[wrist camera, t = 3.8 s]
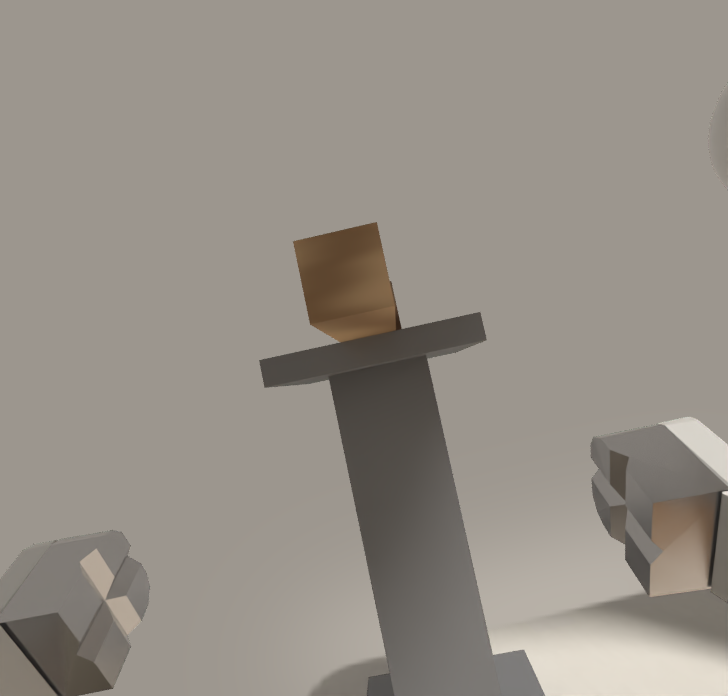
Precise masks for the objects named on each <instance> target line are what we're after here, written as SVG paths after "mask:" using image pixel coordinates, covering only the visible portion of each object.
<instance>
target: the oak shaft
mask: <svg viewBox="0 0 728 696" xmlns="http://www.w3.org/2000/svg"><path fill="white" fill-rule="evenodd" d="M293 243H294V248H295V252H296V257H297V263H298V267H299V272H300V277H301V282H302V287H303V292H304V297H305V301H306V306H307V311H308V316H309V320H310V325H312V326H314V327H316V328H317V329H319V330H320V331H322V332H324V333H326V334H327V335H329V336H331V337H332V338H334V339H336V340H338V341H339V342H345V341H350V340H355V339H359V338H364V337H368V336H373V335H377V334H382V333H387V332H391V331H396V330H400V329H401V324H400V320H399V315H398V311H397V306H396V301H395V297H394V292H393V288H392V283H391V281H389V276H388V272H387V267H386V263H385V258H384V254H383V249H382V244H381V240H380V235H379V231H378V226H377V222H376V223H371V224H366V225H362V226H358V227H353V228H349V229H345V230H340V231H336V232H332V233H327V234H323V235H319V236H315V237H311V238H306V239H302V240H297V241H294V242H293Z"/></svg>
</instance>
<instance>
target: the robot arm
mask: <svg viewBox="0 0 728 696" xmlns="http://www.w3.org/2000/svg"><path fill="white" fill-rule="evenodd" d="M709 153H710V159H711V163H712V165H713V168H714V170H715V172H716V174H717V177H718V178H719V180H720V181H721V183H722V184H723V185H724V187H725V188H726V189H727V190H728V83H727V84H726V86H725V88H724V89H723V91H722V93H721V95H720V97H719V99H718V101H717V104H716V106H715V109H714V111H713V115H712V119H711V122H710V128H709ZM591 458H592V460H593V461H594V462H595V464H596V465H597V467H598V468H599V469H598V471H597V472H596V473H595V475H594V476H593V478H592V491H593V498H594V501H595V505H596V509H597V512H598V514H599V516H600V518H601V520H602V523H603V525H604V526H605V528H606V529H607V531H608V533H609V534H610V536H611V537H612V538H614V539H616V540H618V541H620V542H621V543H623V544H625V560H626V561H627V563H628V564H629V566H630V568H631V569H632V571H633V572H634V574H635V575H636V577H637V578H638V580H639V581H640V583H641V585H642V586H643V588H644V589H645V591H646V592H647V594H648V596H649V597H655V596H662V595H669V594H676V593H683V592H690V591H697V590H705V589H711V592H712V593H713V594H715V595H716V596H718V597H719V598H721V599H722V600H724V601H725V602H727V603H728V445H727V444H726V443H725V442H724V441H723V440H721V439H720V438H719V437H718V436H717V435H715V434H714V433H713V432H712V431H711V430H709V429H708V428H707V427H706V426H704V425H703V424H702V423H701V422H700V421H699V420H697V419H695V418H692V417H685V418H680V419H675V420H671V421H666V422H661V423H657V424H656V425H651V426H646V427H641V428H636V429H631V430H626V431H621V432H616V433H611V434H606V435H601V436H596V437H593V439H592V442H591ZM130 546H131V545H130V544H129V542H128V541H127V539H126V538H125V536H124V535H123V533H122V532H118V531H113V530H111V531H105V532H99V533H94V534H88V535H82V536H76V537H70V538H64V539H60V540H55V541H49V542H43V543H38V544H33V545H32V546H30V547H28V548H26V549H24V550H23V551H22V552H21V553H20V555H19V556H18V557H17V558H16V560H15V561H14V562H13V564H12V565H11V566H10V567H9V569H8V570H7V571H6V572H5V574H4V575H3V576H2V578H1V579H0V696H79V695H84V694H89V693H94V692H99V691H103V690H109V689H113V687H114V685H115V683H116V680H117V678H118V676H119V673H120V671H121V669H122V666H123V664H124V662H125V659H126V657H127V655H128V652H129V650H130V648H131V646H130V642H129V639H128V634H129V633H130V632H131V631H132V630H133V629H134V628H135V627H136V626H137V625H138V624H139V623H140V622H141V621H142V619H143V617H144V614H145V612H146V609H147V606H148V601H149V590H150V586H149V581H148V577H147V573H146V571H145V570H144V568H143V566H142V564H141V563H139V562H137V561H136V560H134V559H132V558H130V557H128V553H129V549H130Z"/></svg>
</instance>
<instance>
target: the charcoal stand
mask: <svg viewBox="0 0 728 696" xmlns="http://www.w3.org/2000/svg"><path fill="white" fill-rule="evenodd" d="M485 340H486V335H485V331H484V326H483V322H482V318H481V313H480V312H478V313H474V314H469V315H465V316H460V317H456V318H451V319H446V320H442V321H437V322H432V323H428V324H424V325H419V326H415V327H410V328H405V329H400V330H396V331H391V332H387V333H382V334H377V335H373V336H368V337H364V338H359V339H355V340H350V341H345V342H341V343H336V344H332V345H328V346H323V347H318V348H314V349H309V350H304V351H300V352H295V353H291V354H286V355H281V356H277V357H272V358H268V359H263V360H260V366H261V372H262V377H263V382H264V387H278V386H289V385H300V384H311V383H315V382H320V381H325V380H329V381H330V385H331V391H332V395H333V400H334V405H335V410H336V415H337V420H338V424H339V429H340V434H341V439H342V444H343V449H344V453H345V458H346V463H347V468H348V473H349V478H350V483H351V487H352V492H353V497H354V502H355V506H356V512H357V516H358V521H359V526H360V531H361V536H362V541H363V545H364V550H365V555H366V560H367V565H368V569H369V575H370V579H371V584H372V589H373V594H374V599H375V604H376V609H377V613H378V618H379V623H380V628H381V632H382V638H383V642H384V647H385V652H386V657H387V662H388V667H389V672H390V674H384V675H378V676H373V677H369V680H368V690H367V696H545V694H544V692H543V690H542V688H541V686H540V684H539V681H538V679H537V677H536V675H535V673H534V670H533V668H532V666H531V664H530V662H529V660H528V657H527V655H526V653H525V651H524V650H519V651H513V652H508V653H502V654H497V655H493V654H492V649H491V645H490V640H489V636H488V631H487V627H486V622H485V618H484V614H483V609H482V605H481V600H480V596H479V591H478V586H477V582H476V578H475V573H474V568H473V564H472V560H471V555H470V550H469V546H468V542H467V537H466V533H465V528H464V523H463V519H462V514H461V510H460V505H459V501H458V496H457V492H456V487H455V483H454V478H453V474H452V469H451V465H450V461H449V456H448V451H447V447H446V442H445V438H444V433H443V429H442V425H441V420H440V415H439V411H438V406H437V402H436V398H435V393H434V388H433V384H432V379H431V375H430V370H429V366H428V361H427V358H432V357H437V356H441V355H446V354H451V353H456V352H458V351H461V350H463V349H466V348H468V347H470V346H473V345H476V344H478V343H481V342H483V341H485Z"/></svg>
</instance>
